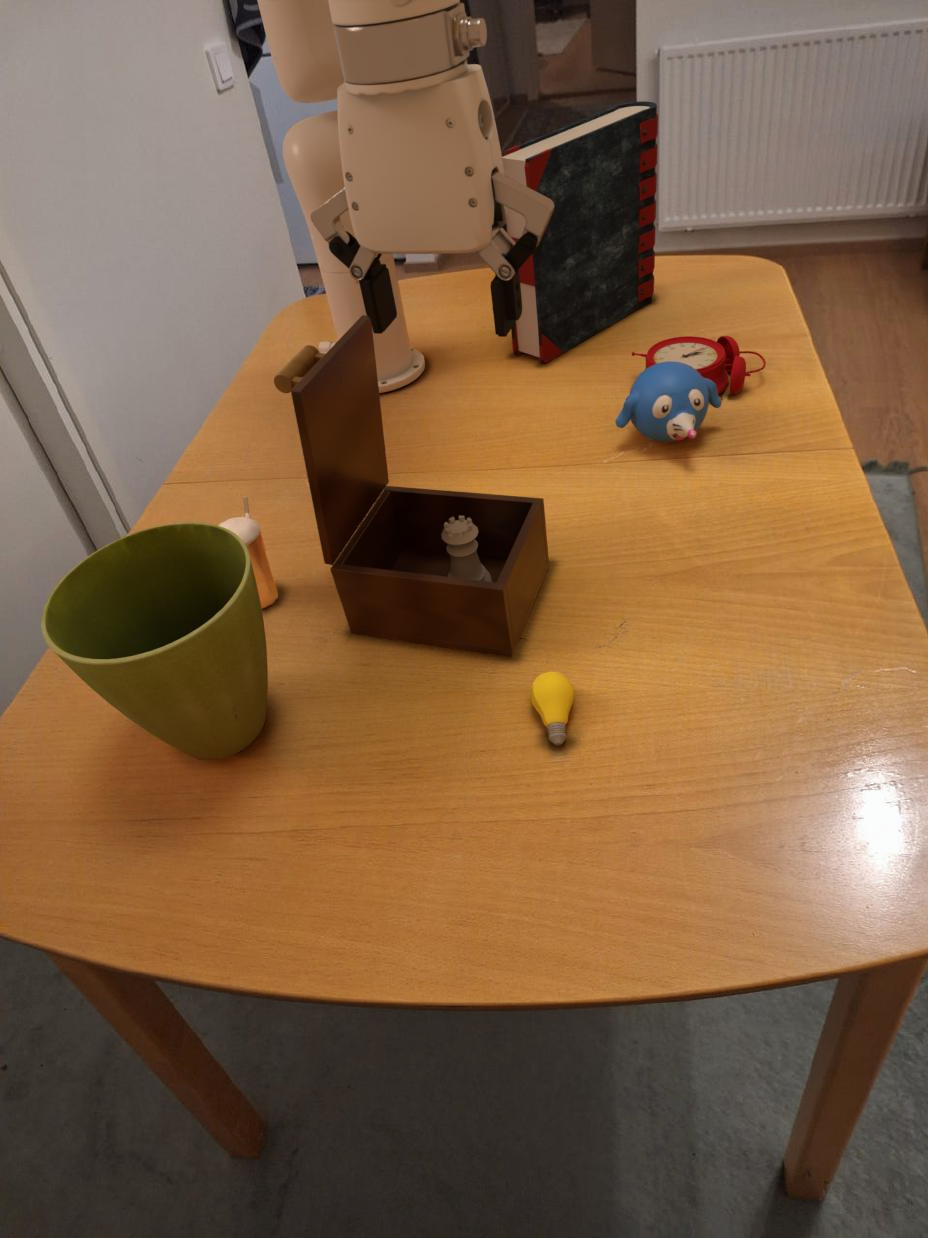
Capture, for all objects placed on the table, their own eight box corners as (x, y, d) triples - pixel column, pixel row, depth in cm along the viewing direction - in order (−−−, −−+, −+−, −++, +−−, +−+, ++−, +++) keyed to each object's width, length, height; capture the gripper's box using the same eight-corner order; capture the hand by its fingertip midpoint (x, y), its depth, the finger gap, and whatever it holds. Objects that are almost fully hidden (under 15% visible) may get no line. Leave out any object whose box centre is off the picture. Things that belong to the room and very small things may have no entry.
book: (627, 288, 122) (627, 98, 106) (664, 297, 118) (670, 101, 101) (510, 354, 112) (489, 154, 95) (546, 366, 107) (531, 159, 91)
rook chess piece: (502, 582, 75) (492, 512, 70) (482, 613, 73) (470, 543, 67) (459, 574, 77) (446, 505, 72) (438, 604, 74) (423, 535, 69)
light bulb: (563, 684, 66) (576, 664, 63) (572, 753, 63) (586, 735, 60) (523, 683, 66) (534, 662, 63) (531, 752, 62) (543, 734, 59)
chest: (549, 564, 78) (543, 498, 72) (512, 657, 69) (502, 589, 64) (401, 548, 83) (386, 485, 77) (350, 633, 74) (329, 568, 69)
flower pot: (274, 809, 61) (198, 665, 50) (102, 796, 64) (-4, 658, 54) (331, 665, 72) (278, 520, 61) (180, 660, 75) (105, 522, 64)
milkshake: (296, 580, 81) (266, 499, 74) (271, 616, 78) (237, 534, 71) (258, 575, 83) (225, 495, 76) (231, 610, 79) (194, 529, 72)
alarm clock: (626, 343, 101) (749, 302, 97) (637, 386, 105) (756, 349, 101) (635, 382, 94) (769, 340, 89) (647, 427, 98) (776, 389, 93)
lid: (371, 315, 65) (319, 308, 66) (300, 392, 57) (243, 382, 58) (389, 482, 77) (345, 474, 78) (332, 565, 69) (284, 555, 70)
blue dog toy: (636, 483, 85) (637, 411, 80) (604, 428, 94) (603, 360, 88) (746, 460, 86) (754, 387, 80) (704, 408, 94) (709, 339, 89)
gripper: (559, 22, 48) (571, 306, 59) (303, 49, 53) (361, 303, 65) (524, 52, 43) (545, 354, 55) (247, 77, 48) (320, 347, 60)
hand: (445, 326), depth 60 cm, fingers open, 9 cm apart
